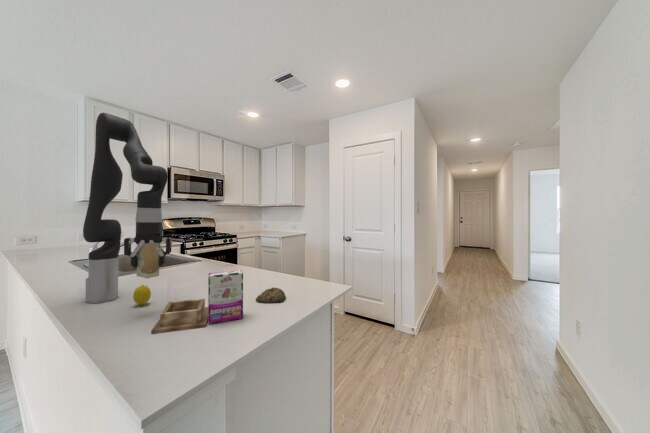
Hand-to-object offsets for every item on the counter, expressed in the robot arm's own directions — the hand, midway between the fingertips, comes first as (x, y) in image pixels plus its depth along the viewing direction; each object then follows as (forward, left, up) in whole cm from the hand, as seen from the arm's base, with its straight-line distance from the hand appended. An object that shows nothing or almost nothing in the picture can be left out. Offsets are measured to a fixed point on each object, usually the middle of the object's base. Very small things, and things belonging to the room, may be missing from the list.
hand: (148, 266), depth 87 cm
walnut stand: (+13, -9, -17) cm, 24 cm away
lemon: (-5, +11, -17) cm, 21 cm away
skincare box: (0, 0, -4) cm, 4 cm away
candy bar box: (+26, -12, -17) cm, 34 cm away
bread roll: (+45, +4, -18) cm, 48 cm away
